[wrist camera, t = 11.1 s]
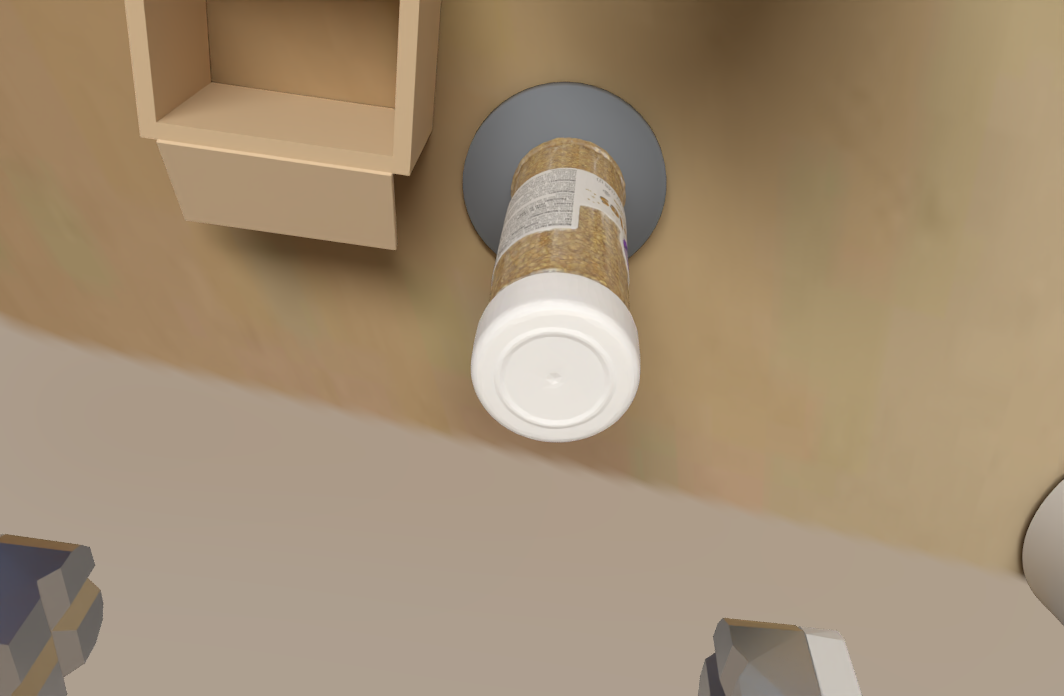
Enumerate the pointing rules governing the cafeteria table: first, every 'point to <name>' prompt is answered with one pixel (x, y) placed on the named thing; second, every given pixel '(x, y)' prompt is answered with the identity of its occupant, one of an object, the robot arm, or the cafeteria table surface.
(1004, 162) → the cafeteria table surface
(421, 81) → the carton
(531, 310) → the sprinkles bottle
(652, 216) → the coaster
